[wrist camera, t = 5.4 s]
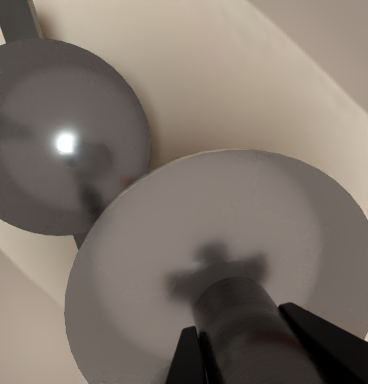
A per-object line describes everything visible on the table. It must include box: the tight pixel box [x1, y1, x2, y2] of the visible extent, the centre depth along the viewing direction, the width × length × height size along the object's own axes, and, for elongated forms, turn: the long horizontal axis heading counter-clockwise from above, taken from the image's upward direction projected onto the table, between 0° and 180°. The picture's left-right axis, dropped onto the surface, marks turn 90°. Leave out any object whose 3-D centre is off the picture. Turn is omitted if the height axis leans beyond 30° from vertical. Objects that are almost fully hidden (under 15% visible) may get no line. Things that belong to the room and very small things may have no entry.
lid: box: [64, 149, 368, 384], centre depth 7 cm, size 11×11×5 cm
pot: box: [0, 0, 151, 250], centre depth 15 cm, size 15×10×4 cm, turn 12°
